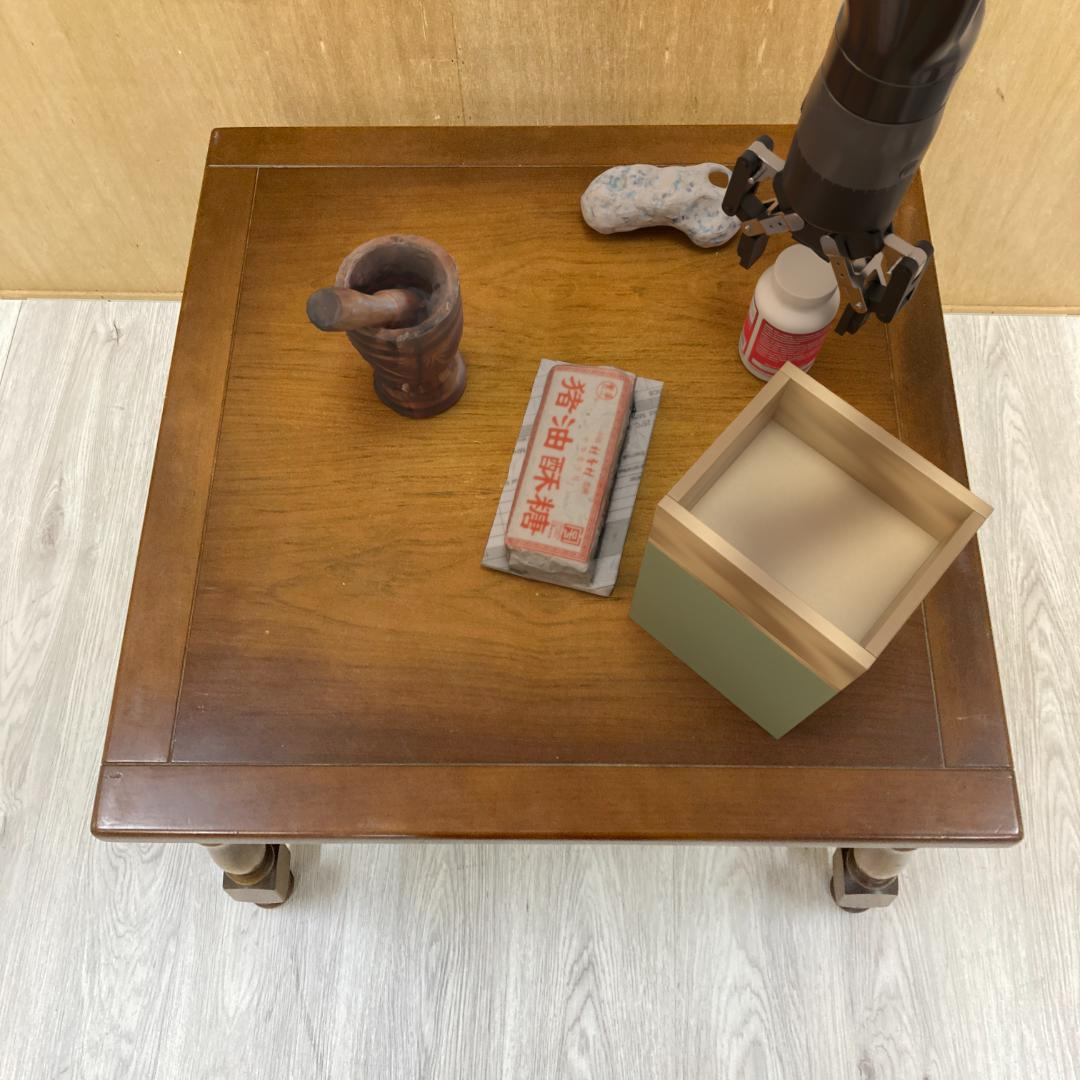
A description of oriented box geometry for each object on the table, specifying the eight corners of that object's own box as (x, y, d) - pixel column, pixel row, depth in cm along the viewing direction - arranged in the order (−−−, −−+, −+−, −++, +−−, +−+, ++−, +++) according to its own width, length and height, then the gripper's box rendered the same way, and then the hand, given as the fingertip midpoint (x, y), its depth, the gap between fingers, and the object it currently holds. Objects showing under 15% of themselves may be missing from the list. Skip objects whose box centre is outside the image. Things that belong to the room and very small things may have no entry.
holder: (955, 544, 59) (995, 508, 54) (838, 693, 56) (868, 669, 51) (767, 406, 62) (787, 360, 57) (647, 540, 59) (656, 504, 54)
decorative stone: (584, 262, 85) (586, 223, 80) (577, 196, 87) (579, 155, 83) (742, 252, 85) (754, 212, 81) (731, 187, 88) (742, 144, 83)
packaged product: (615, 581, 70) (476, 548, 71) (611, 601, 75) (481, 569, 76) (669, 359, 76) (541, 331, 77) (663, 390, 81) (541, 363, 82)
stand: (873, 619, 74) (955, 544, 59) (777, 740, 71) (838, 693, 56) (725, 505, 77) (767, 406, 62) (627, 616, 74) (647, 540, 59)
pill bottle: (828, 368, 81) (868, 288, 71) (760, 397, 81) (791, 320, 70) (789, 308, 83) (823, 221, 73) (723, 335, 83) (748, 252, 72)
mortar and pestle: (457, 469, 79) (428, 329, 60) (347, 455, 79) (284, 313, 60) (480, 339, 83) (460, 170, 64) (376, 327, 83) (325, 156, 64)
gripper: (1002, 160, 58) (907, 315, 74) (802, 33, 62) (750, 207, 77) (928, 242, 57) (847, 384, 72) (725, 107, 60) (688, 271, 75)
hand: (797, 292), depth 74 cm, fingers open, 8 cm apart
